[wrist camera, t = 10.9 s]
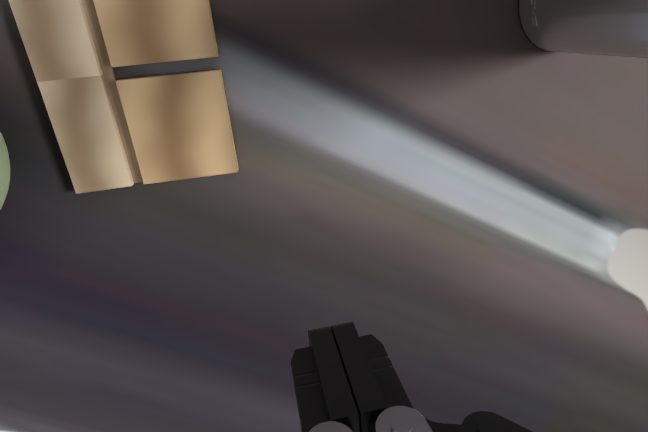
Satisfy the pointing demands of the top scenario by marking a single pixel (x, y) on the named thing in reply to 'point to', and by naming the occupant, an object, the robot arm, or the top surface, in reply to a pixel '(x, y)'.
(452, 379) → the top surface
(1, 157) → the toy
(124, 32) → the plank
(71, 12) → the laid strip
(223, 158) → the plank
